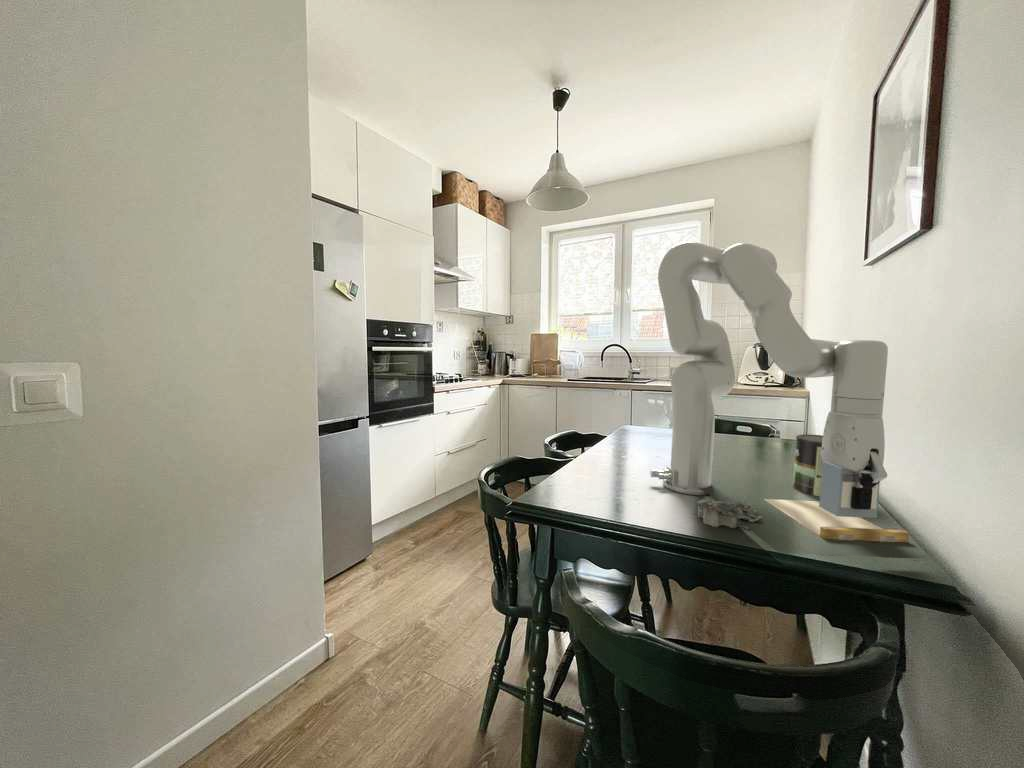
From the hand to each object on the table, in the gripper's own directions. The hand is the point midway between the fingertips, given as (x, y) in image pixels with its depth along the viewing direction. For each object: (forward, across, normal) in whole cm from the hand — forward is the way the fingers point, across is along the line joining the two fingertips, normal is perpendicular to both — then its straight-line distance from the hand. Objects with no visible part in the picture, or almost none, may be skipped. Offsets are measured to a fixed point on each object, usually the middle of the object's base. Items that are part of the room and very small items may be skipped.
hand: (848, 501), depth 81 cm
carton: (+2, 0, 0) cm, 2 cm away
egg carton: (+7, -4, -20) cm, 22 cm away
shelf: (+6, -4, -1) cm, 8 cm away
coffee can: (+6, -22, +9) cm, 25 cm away
